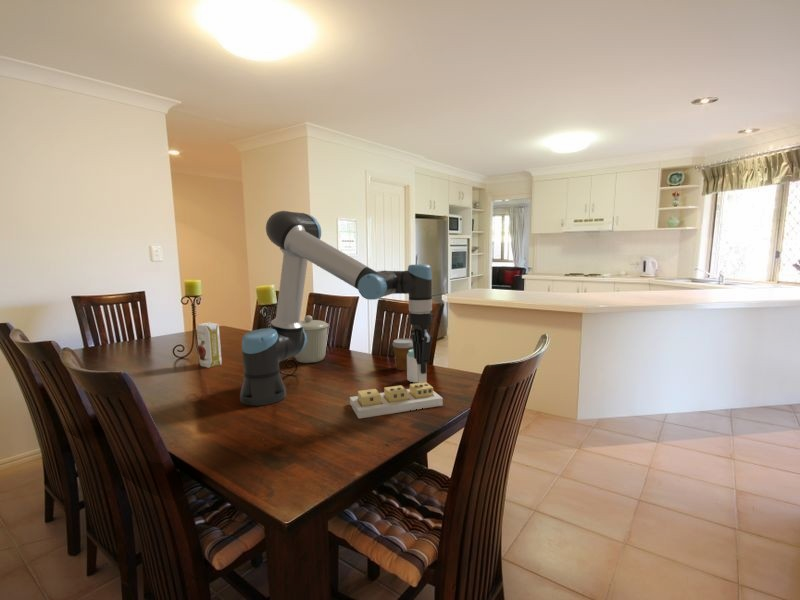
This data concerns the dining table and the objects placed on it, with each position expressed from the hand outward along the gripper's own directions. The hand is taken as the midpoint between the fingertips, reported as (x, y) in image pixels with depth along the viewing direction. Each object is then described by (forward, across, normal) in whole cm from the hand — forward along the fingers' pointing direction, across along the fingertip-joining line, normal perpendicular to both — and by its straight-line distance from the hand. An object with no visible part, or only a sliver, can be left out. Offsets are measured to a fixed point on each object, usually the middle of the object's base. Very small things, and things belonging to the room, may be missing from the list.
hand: (422, 381), depth 134 cm
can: (+7, +20, -6) cm, 22 cm away
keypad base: (+7, 0, +9) cm, 11 cm away
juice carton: (+6, +74, +72) cm, 104 cm away
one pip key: (+5, 0, +18) cm, 19 cm away
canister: (+6, +65, +29) cm, 72 cm away
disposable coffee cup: (+7, +37, -7) cm, 38 cm away
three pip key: (+5, 0, 0) cm, 5 cm away
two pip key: (+5, 0, +9) cm, 10 cm away
